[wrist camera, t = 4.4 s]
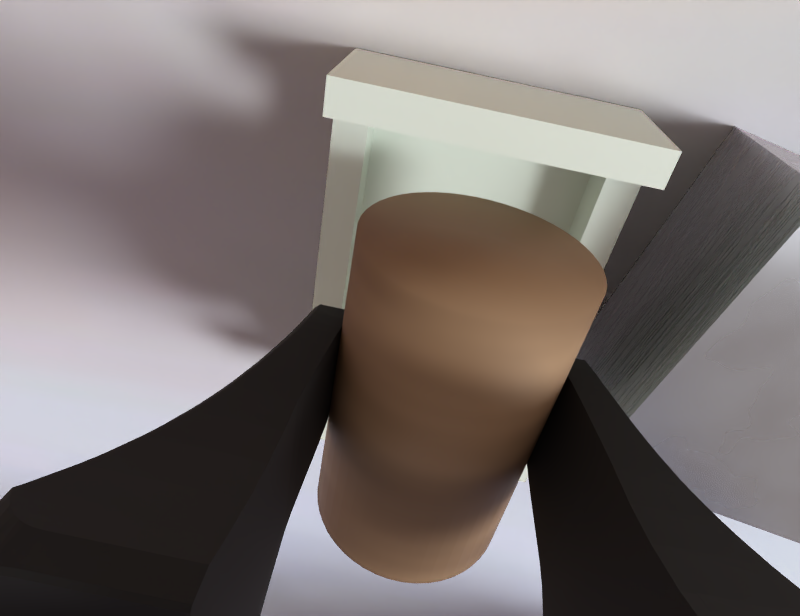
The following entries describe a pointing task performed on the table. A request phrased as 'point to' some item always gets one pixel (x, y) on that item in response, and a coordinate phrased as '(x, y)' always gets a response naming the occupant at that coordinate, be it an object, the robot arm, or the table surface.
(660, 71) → the table surface
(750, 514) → the slab
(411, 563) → the roller
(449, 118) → the cradle
